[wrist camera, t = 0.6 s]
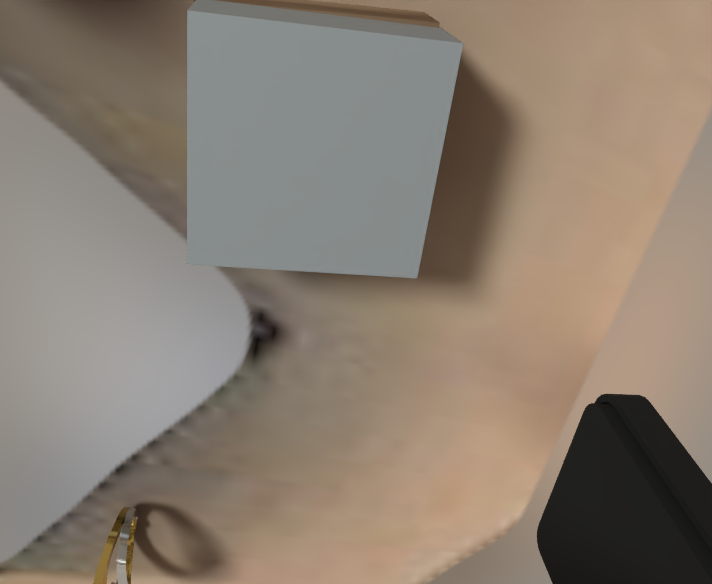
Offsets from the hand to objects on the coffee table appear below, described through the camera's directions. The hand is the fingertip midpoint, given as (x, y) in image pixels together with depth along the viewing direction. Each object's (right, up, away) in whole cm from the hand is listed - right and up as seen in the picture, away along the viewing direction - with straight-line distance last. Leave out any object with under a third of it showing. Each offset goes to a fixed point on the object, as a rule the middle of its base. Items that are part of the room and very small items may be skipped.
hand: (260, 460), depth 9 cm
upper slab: (-1, +10, +23) cm, 25 cm away
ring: (-15, -14, +40) cm, 45 cm away
